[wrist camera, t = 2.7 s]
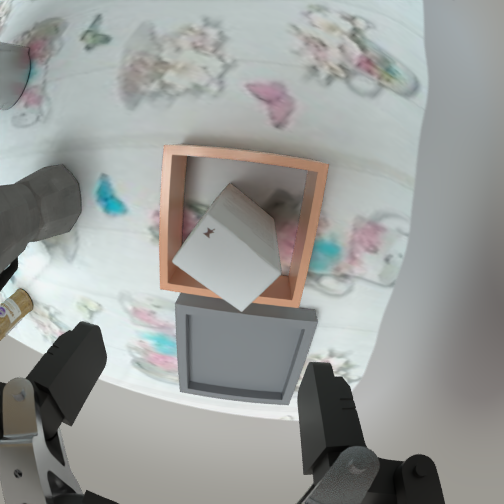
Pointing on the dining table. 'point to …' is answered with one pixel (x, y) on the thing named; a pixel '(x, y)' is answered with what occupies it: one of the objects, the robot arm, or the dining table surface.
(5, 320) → the sprinkles bottle
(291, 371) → the grey tray
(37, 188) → the coffeepot
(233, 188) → the skincare box
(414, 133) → the dining table surface
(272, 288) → the orange square frame
